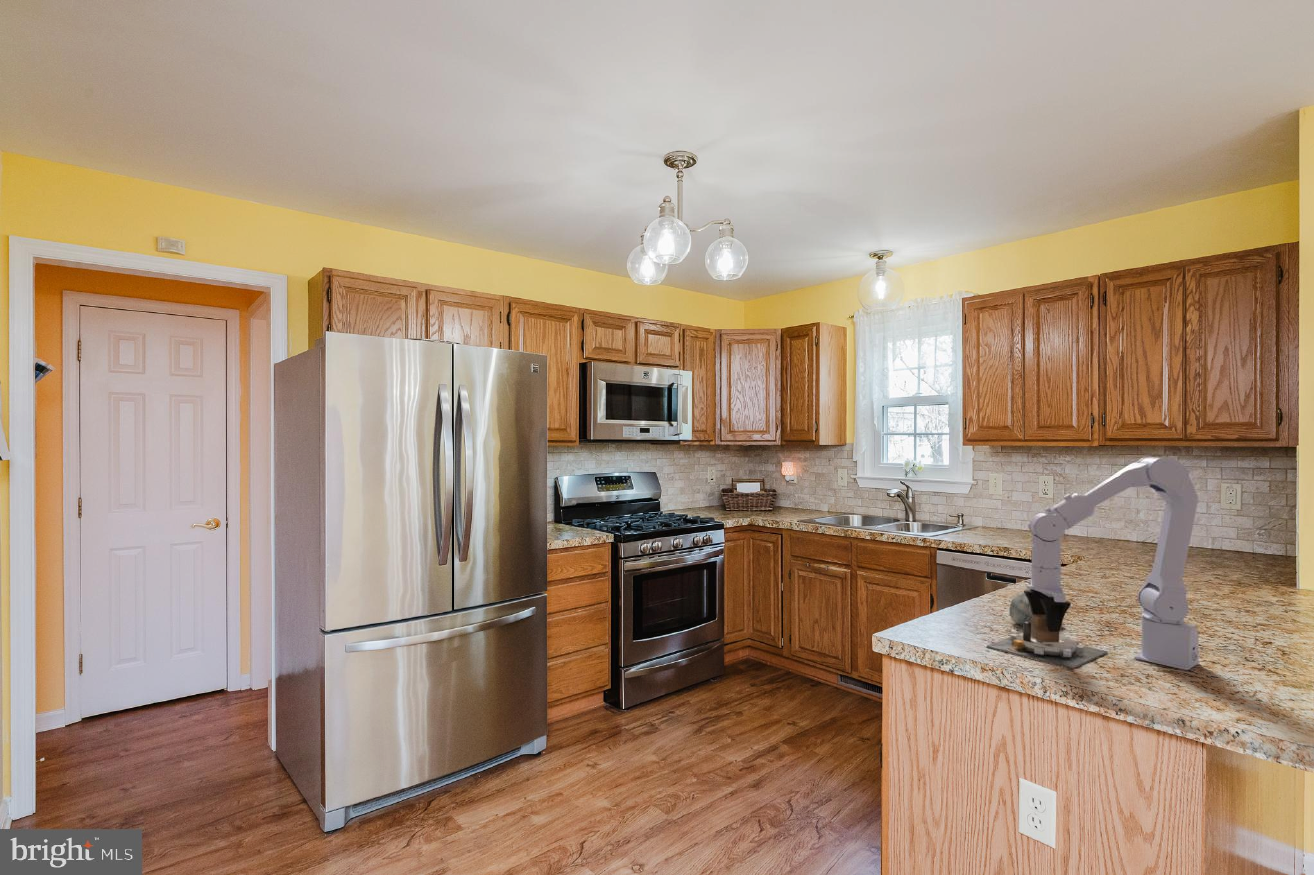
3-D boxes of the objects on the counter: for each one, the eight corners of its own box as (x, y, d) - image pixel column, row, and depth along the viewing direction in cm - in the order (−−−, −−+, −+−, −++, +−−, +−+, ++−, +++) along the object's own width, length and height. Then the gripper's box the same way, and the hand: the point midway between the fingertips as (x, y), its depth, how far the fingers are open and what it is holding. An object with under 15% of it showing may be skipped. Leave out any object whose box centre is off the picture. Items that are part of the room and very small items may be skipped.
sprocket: (1055, 637, 157) (1055, 613, 157) (1098, 656, 143) (1098, 631, 143) (998, 638, 157) (998, 614, 157) (1035, 658, 142) (1035, 632, 142)
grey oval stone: (1031, 602, 181) (1041, 575, 176) (1063, 626, 173) (1074, 598, 168) (995, 619, 176) (1004, 591, 171) (1026, 644, 168) (1036, 616, 163)
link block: (1052, 637, 151) (1052, 615, 151) (1059, 641, 148) (1059, 619, 148) (1031, 636, 152) (1031, 614, 152) (1037, 640, 148) (1037, 618, 149)
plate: (1107, 653, 148) (1107, 650, 148) (1072, 669, 137) (1072, 667, 137) (1024, 634, 162) (1024, 631, 162) (986, 647, 152) (986, 645, 152)
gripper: (1015, 560, 158) (1015, 617, 158) (1040, 572, 143) (1041, 635, 143) (1047, 561, 157) (1047, 618, 157) (1075, 573, 142) (1076, 636, 142)
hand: (1046, 626), depth 150 cm, fingers open, 7 cm apart
